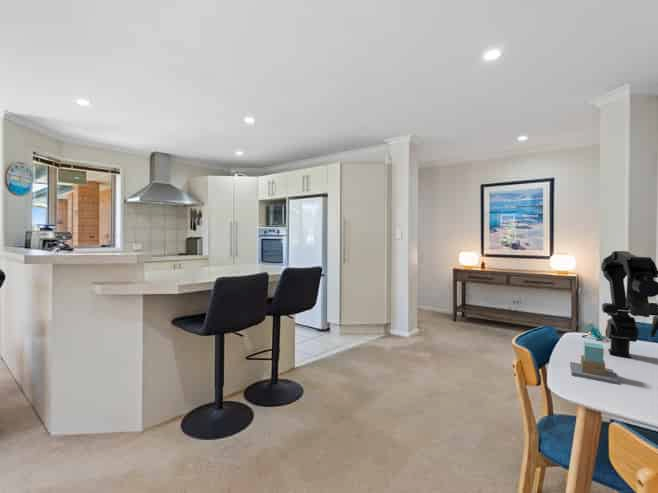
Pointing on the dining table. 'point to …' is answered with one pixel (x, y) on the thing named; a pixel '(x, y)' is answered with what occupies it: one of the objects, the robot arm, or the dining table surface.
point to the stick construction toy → (594, 332)
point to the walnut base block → (592, 367)
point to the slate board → (578, 372)
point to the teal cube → (593, 352)
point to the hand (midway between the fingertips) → (634, 334)
